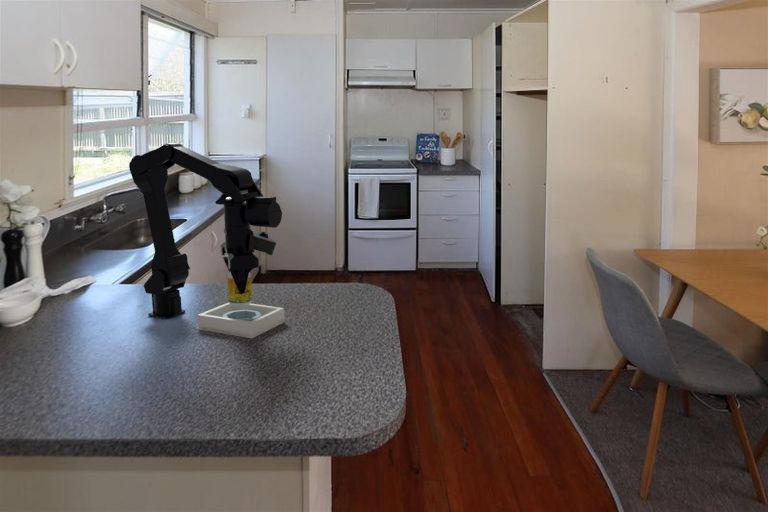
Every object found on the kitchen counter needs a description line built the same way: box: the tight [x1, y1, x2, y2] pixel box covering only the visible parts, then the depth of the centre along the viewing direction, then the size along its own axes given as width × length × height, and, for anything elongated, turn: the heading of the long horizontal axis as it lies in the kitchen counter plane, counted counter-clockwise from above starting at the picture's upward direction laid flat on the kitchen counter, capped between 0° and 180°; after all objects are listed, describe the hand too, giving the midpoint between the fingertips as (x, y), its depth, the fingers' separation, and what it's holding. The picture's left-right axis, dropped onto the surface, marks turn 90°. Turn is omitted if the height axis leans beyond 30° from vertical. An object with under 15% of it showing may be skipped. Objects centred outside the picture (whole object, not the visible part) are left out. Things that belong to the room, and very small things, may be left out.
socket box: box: [197, 302, 285, 339], centre depth 154 cm, size 15×13×4 cm
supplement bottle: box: [227, 271, 253, 306], centre depth 152 cm, size 5×5×10 cm
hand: (240, 290), depth 153 cm, fingers closed on supplement bottle, 5 cm apart
